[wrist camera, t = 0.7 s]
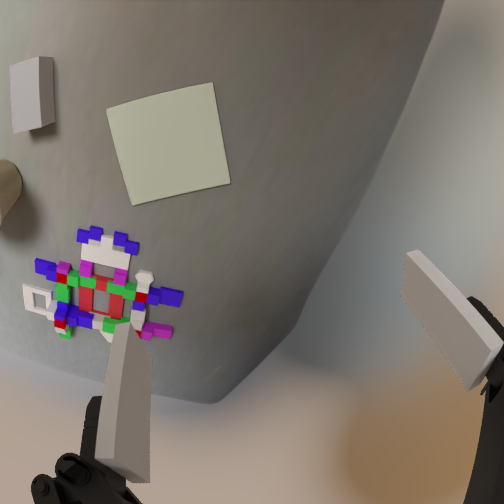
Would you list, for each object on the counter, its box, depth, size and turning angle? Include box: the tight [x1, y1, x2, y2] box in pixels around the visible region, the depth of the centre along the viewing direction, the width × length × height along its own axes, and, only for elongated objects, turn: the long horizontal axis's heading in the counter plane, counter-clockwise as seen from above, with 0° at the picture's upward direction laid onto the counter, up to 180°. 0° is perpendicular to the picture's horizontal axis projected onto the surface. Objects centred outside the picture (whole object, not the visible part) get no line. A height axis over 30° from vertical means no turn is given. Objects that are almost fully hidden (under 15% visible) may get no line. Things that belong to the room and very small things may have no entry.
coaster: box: [106, 82, 230, 206], centre depth 33 cm, size 12×12×1 cm
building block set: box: [22, 226, 183, 343], centre depth 40 cm, size 25×20×4 cm
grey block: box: [10, 56, 55, 134], centre depth 25 cm, size 4×8×4 cm, turn 178°
